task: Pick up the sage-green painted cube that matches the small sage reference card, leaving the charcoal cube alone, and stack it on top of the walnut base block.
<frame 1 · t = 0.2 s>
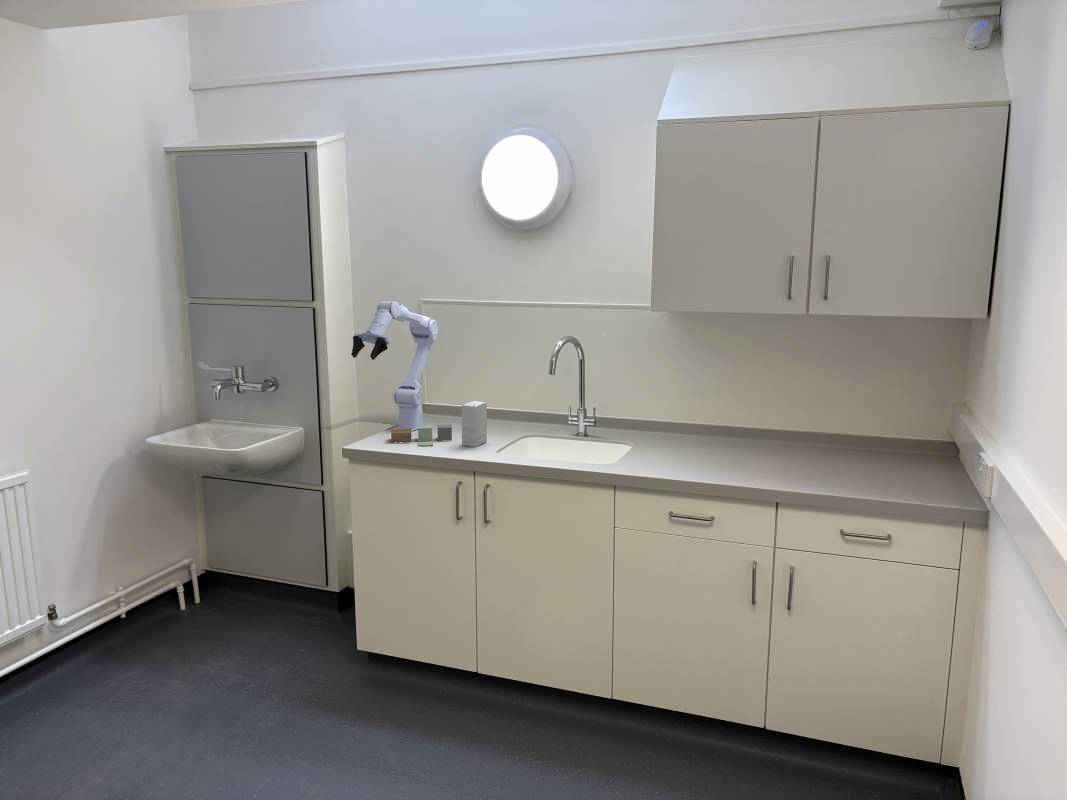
hand: (362, 357, 269), 31 cm above the worktop, tool tilted 45°, fingers open, 7 cm apart
reference card: (425, 444, 275), on the worktop
walnut base: (401, 441, 281), on the worktop
sage cube: (425, 440, 282), on the worktop
charcoal cube: (444, 439, 283), on the worktop
skincare box: (474, 444, 276), on the worktop
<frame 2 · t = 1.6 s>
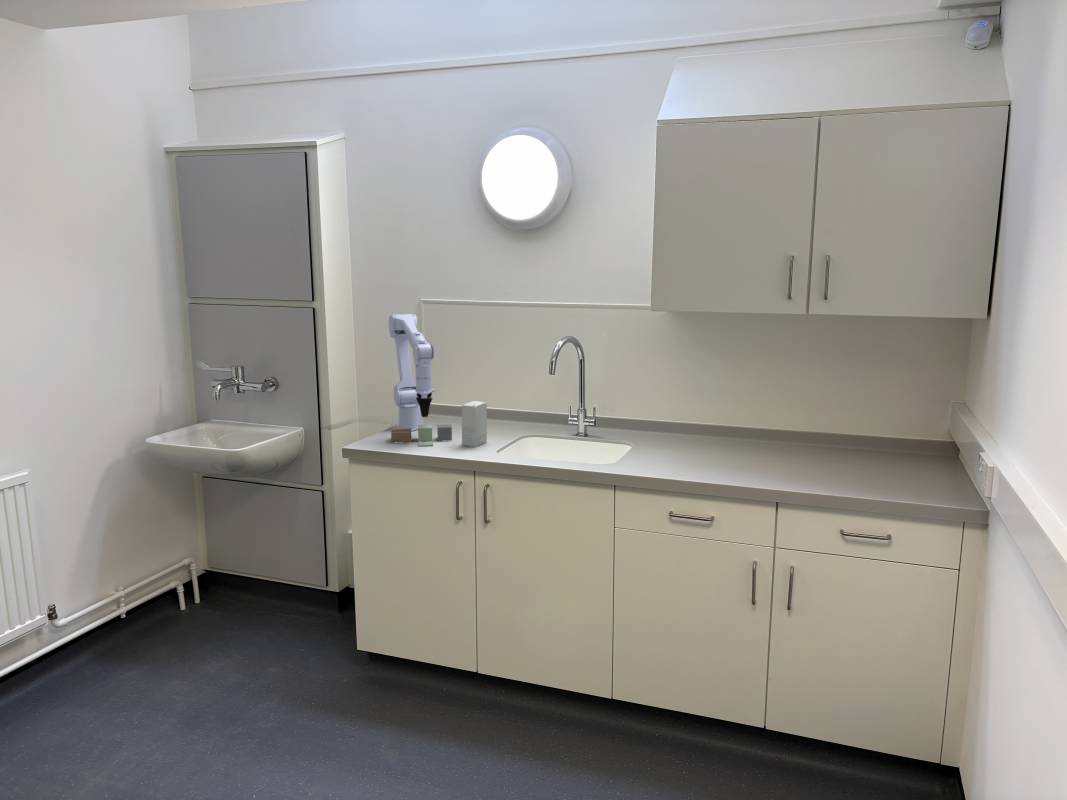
hand: (424, 414, 280), 9 cm above the worktop, tool pointing down, fingers open, 7 cm apart
nothing on the worktop moved.
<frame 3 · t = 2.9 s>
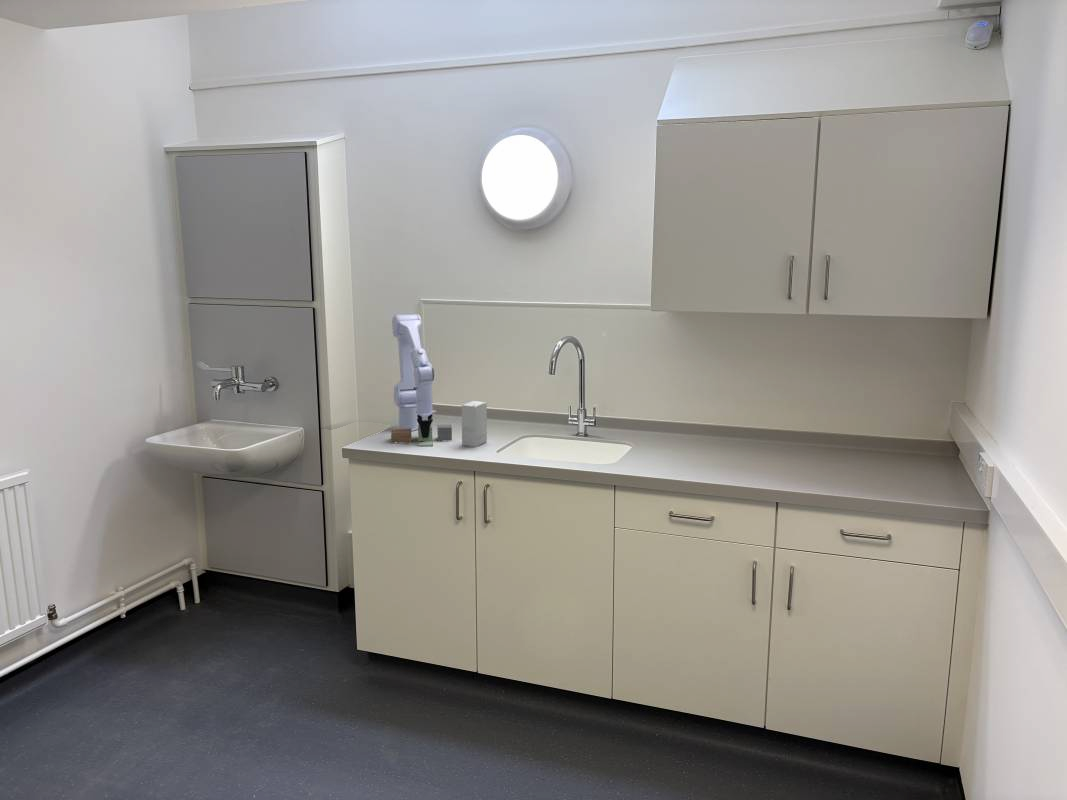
hand: (425, 435, 282), 1 cm above the worktop, tool pointing down, fingers closed on sage cube, 5 cm apart
sage cube: (425, 439, 282), on the worktop, touching gripper
everything else where it was.
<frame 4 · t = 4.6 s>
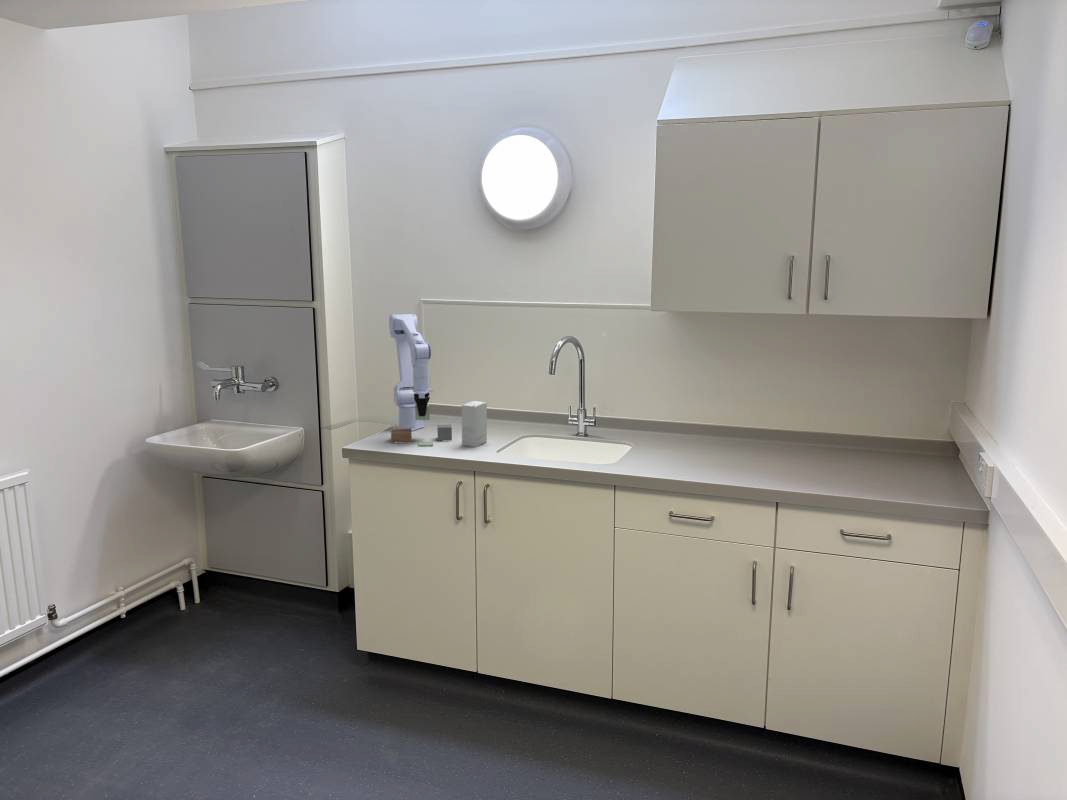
hand: (422, 414, 280), 9 cm above the worktop, tool pointing down, fingers closed on sage cube, 5 cm apart
sage cube: (422, 418, 281), point 8 cm above the worktop, touching gripper
everything else where it was.
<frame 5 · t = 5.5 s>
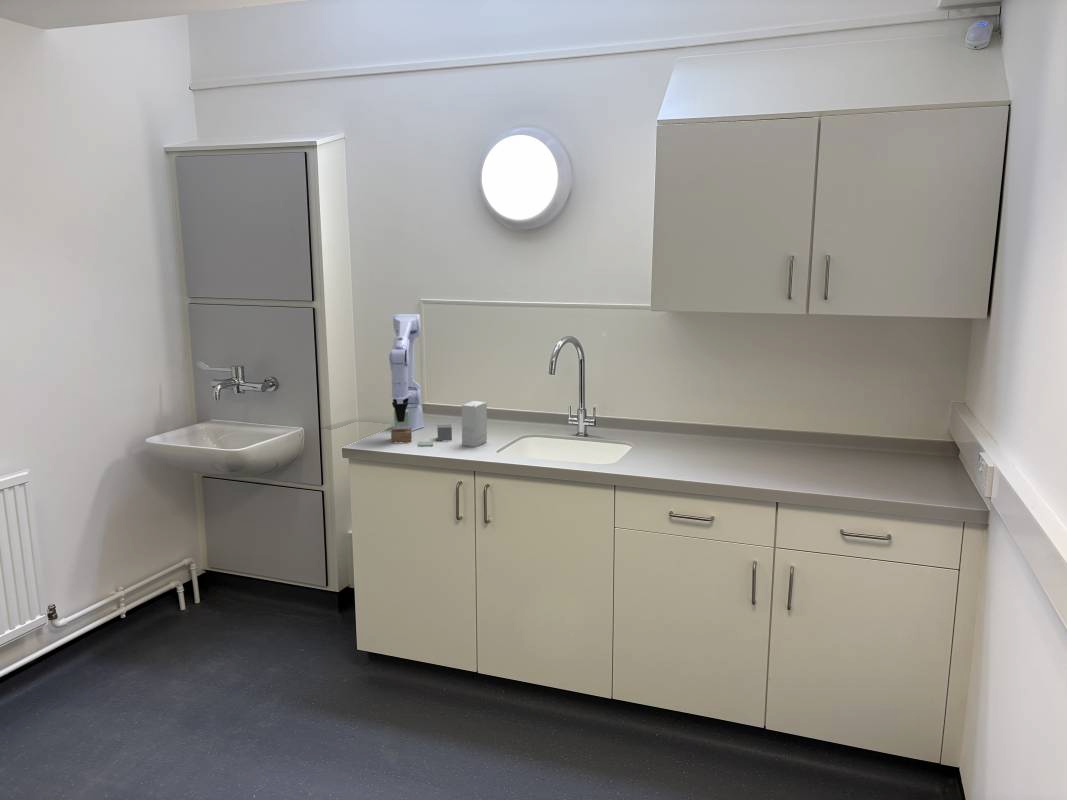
hand: (401, 420, 279), 8 cm above the worktop, tool pointing down, fingers closed on sage cube, 5 cm apart
sage cube: (401, 424, 280), point 6 cm above the worktop, touching gripper
everything else where it was.
when the fingers open (6 cm above the worktop, at t = 6.2 s): sage cube drops 1 cm, resting on walnut base.
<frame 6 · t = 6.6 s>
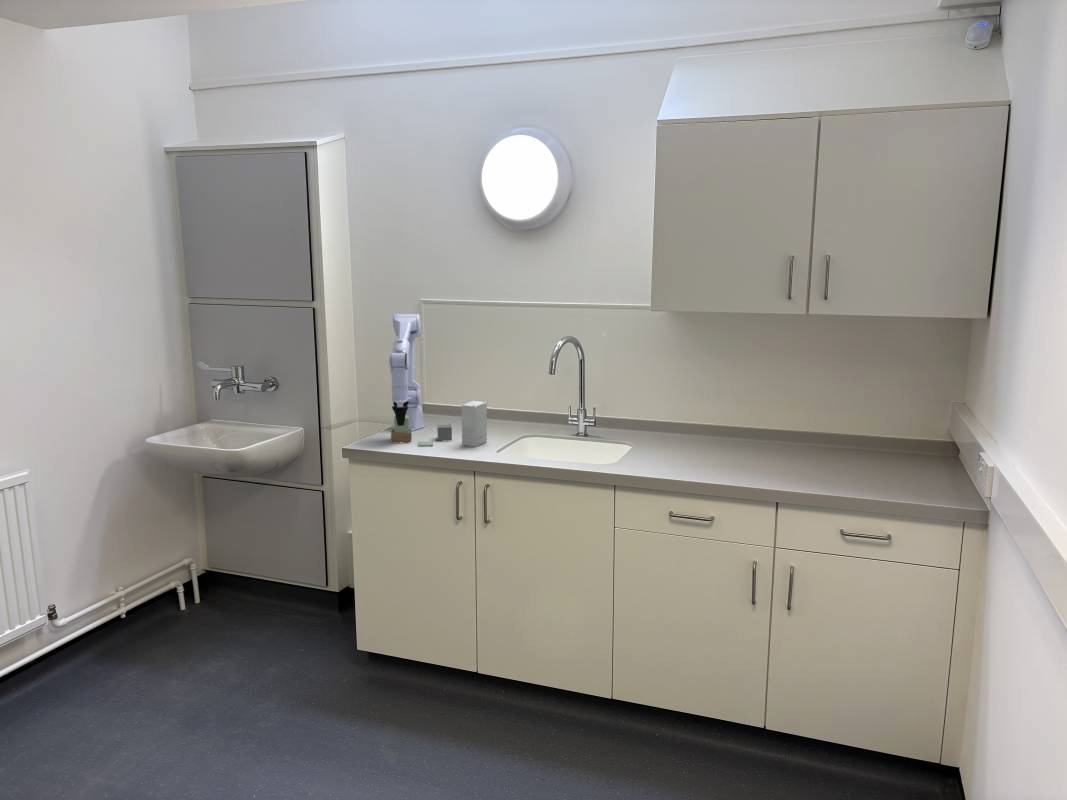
hand: (401, 423, 280), 6 cm above the worktop, tool pointing down, fingers open, 7 cm apart
walnut base: (401, 441, 281), on the worktop, touching sage cube
sage cube: (401, 430, 280), point 4 cm above the worktop, touching walnut base
everything else where it was.
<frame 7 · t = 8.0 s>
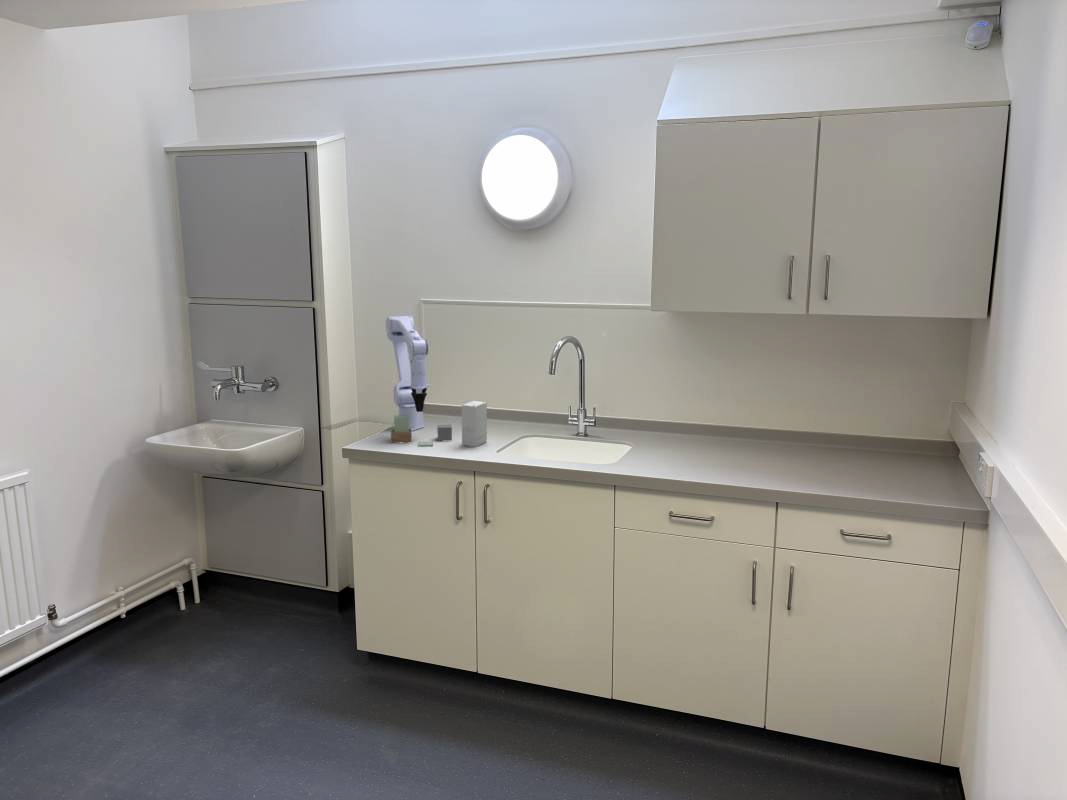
hand: (419, 409, 284), 10 cm above the worktop, tool pointing down, fingers open, 7 cm apart
nothing on the worktop moved.
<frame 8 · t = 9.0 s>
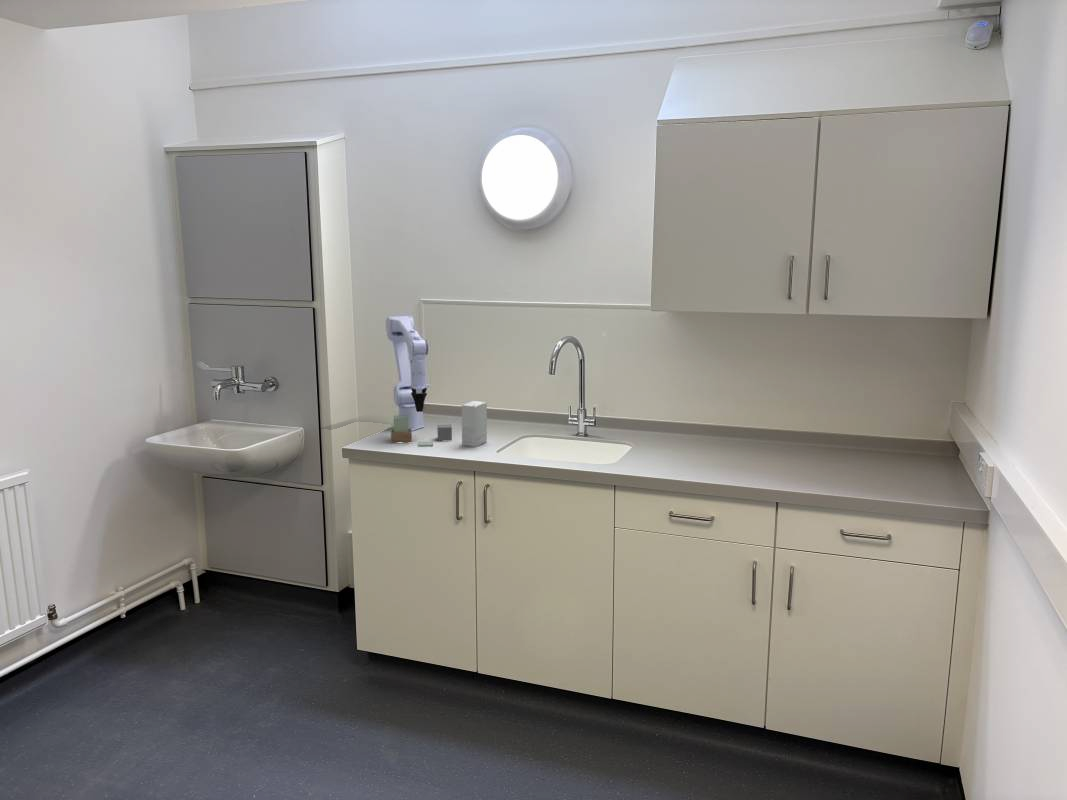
hand: (419, 409, 284), 10 cm above the worktop, tool pointing down, fingers open, 7 cm apart
nothing on the worktop moved.
at the end: sage cube 0.4 cm off-centre on the walnut base, point 4.0 cm above the walnut base's base; sage cube tilted 0°; the gripper is holding nothing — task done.
